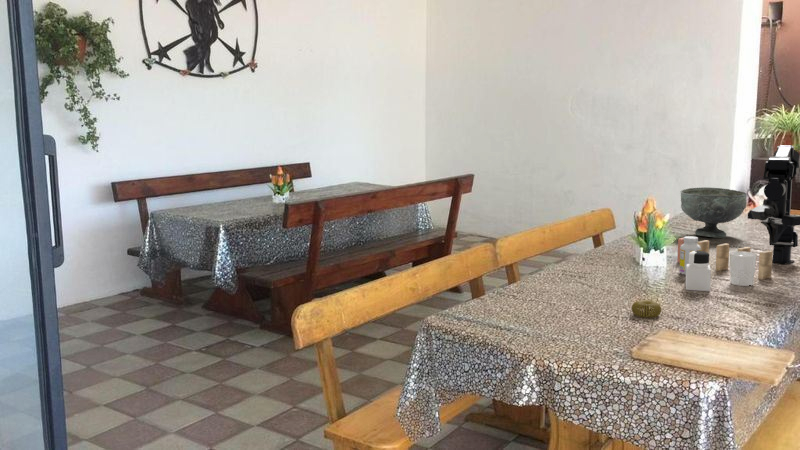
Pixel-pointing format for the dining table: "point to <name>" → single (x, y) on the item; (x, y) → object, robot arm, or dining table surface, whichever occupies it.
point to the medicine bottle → (698, 271)
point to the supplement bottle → (687, 251)
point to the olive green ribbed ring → (646, 309)
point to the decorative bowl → (712, 207)
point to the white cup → (742, 268)
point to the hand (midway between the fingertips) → (773, 243)
